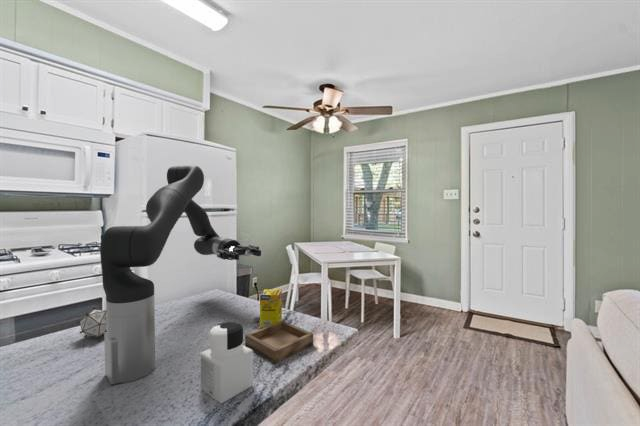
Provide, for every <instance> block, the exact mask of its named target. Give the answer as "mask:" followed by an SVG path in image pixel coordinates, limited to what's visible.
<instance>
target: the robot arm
mask: <svg viewBox="0 0 640 426" xmlns="http://www.w3.org/2000/svg"><path fill="white" fill-rule="evenodd" d="M204 181H205V174H204V172H203V170H202V168H201V167H199V166H198V165H196V164H195V165H194V164H188V165H174V166H170V167H169V168H168V169H167V171H166V182H167V183H168V184H166V185H165V186H161V188H159V189H158V190H156V191H155V193H153V195H151V197H150V198H149V199H148V201H147V203H146V205H145V212H146V215H147V218H148V219H149V221H150V223H149V224H146V225H135V226H134V225H132V226H131V225H119V226H117V225H115V226H111V227H109V228H107V229H106V230H105V231H104V232H103V234H102V235H101V239H100V248H99V252H100V255H99V256H100V267H101V276H102V277H101V278H102V288H103V291H104V293H105V307H106V309H105V311H106V320H107V330H106V331H107V332H104V333H103V335H104V375H105V374H106V375H105V376H107V377H106V378H107V381H108V382H109V384H110V383H111V384H114V385H116V384H115V383H117V384H122V383H129V382H134V381H136V380H137V381H138V380H139V379H142V378H143V377H146V376H147V375H149V374H150V373H152V372H153V371H154V370H155V369H156V359H157V357H156V355H157V354H156V322H155V321H156V317H155V316H156V315H155V314H156V313H155V310H156V308H155V307H156V306H155V284H154V281H152V280H151V279H148V278H145V277H142V276H141V275H138V274H136V273H135V272H134V271H132V269H131V268H143V267H149V266H152V265H153V264H155V263H156V262H157V261H158V259H159V257H161V254H162V252H163V250H164V248H165V246H166V243H167V241H168V238H169V236H170V235H171V232H172V231H173V229H174V227H175V225H176V224H177V222H178V221H179V219H180V218H181V217H182V216H183V213H185V215H186V217H187V220H189V223H190V226H191V229H192V232H193V233H194V235H196V237H198V238H197V239H196V240H195V241H194V243H193V247H194V250H195V251H196V252H197V253H198V254H200V255H203V256H209V255H210V256H211V255H216V257H217V258H218V259H221V260H228V261H234V260H235V261H239V260H240V257H250V256H255V257H261V256H262V250H261V249H260V247H259V246H255V245H251V244H248V245H243V244H242V245H241V243H240V242H239V241H238V240H235V239H232V238H227V237H221V236H219V234H218V233H217V232H216V231H215V229H214V228H213V226H212V224H211V221H210V218H209V216H208V213H207V212H206V210H205V209H204V208H203V207H202V206H201V205H199V204H198V203H197V202H196V201H195V200H193V198H194V197H195V196H196V195H197V194H198V193H199V192H200V191H201V189H202V188H203V186H204ZM111 384H110V385H111Z"/></svg>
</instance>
